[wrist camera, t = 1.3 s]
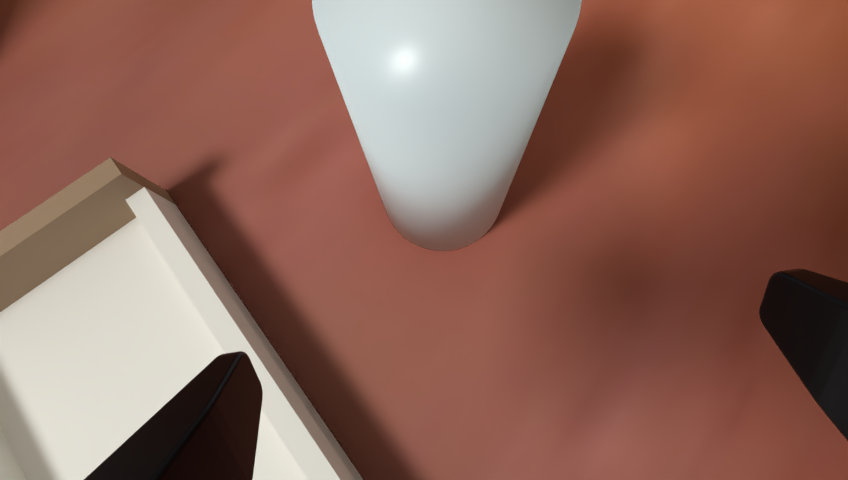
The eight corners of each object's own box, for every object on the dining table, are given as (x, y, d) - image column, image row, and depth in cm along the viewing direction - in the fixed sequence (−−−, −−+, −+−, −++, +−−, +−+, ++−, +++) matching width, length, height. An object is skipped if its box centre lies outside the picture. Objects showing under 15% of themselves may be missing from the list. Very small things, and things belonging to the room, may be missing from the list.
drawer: (401, 536, 19) (391, 583, 15) (156, 753, 17) (73, 870, 13) (165, 190, 23) (110, 157, 19) (-47, 338, 21) (-154, 334, 18)
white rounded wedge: (527, 192, 22) (639, -19, 10) (443, 276, 21) (446, 161, 9) (442, 118, 24) (444, -155, 11) (359, 193, 23) (257, -10, 10)
